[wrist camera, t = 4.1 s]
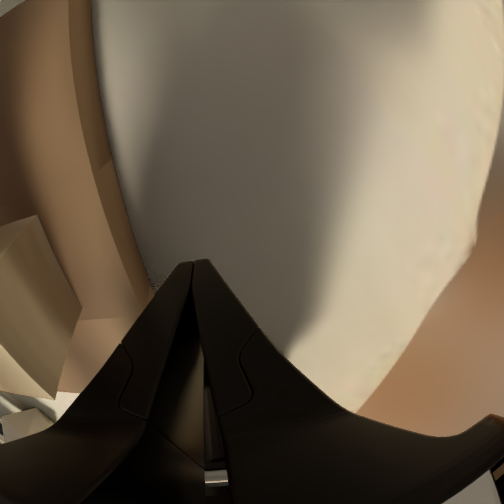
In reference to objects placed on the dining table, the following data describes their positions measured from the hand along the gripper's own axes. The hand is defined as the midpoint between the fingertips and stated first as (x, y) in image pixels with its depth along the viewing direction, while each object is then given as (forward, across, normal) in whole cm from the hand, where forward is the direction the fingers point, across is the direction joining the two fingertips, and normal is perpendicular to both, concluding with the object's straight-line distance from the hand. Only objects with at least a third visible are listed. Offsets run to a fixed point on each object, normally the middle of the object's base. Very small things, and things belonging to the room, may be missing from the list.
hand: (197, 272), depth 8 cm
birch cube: (+2, +8, 0) cm, 8 cm away
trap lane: (+4, +19, 0) cm, 19 cm away
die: (+4, +25, +21) cm, 33 cm away
